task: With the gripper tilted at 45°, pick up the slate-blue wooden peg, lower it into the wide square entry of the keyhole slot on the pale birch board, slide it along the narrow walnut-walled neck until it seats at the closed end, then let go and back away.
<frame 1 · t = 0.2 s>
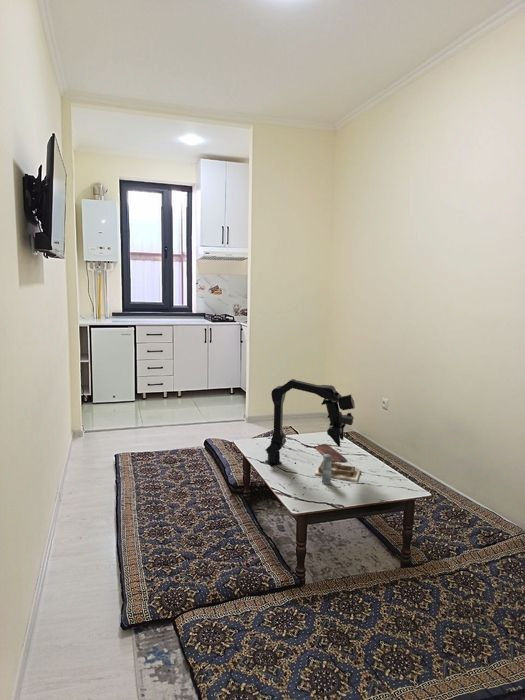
hand: (340, 442, 228), 15 cm above the table, tool tilted 15°, fingers open, 9 cm apart
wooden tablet: (329, 454, 256), on the table
keyhole board: (337, 472, 231), on the table
slate peg: (326, 482, 220), on the table
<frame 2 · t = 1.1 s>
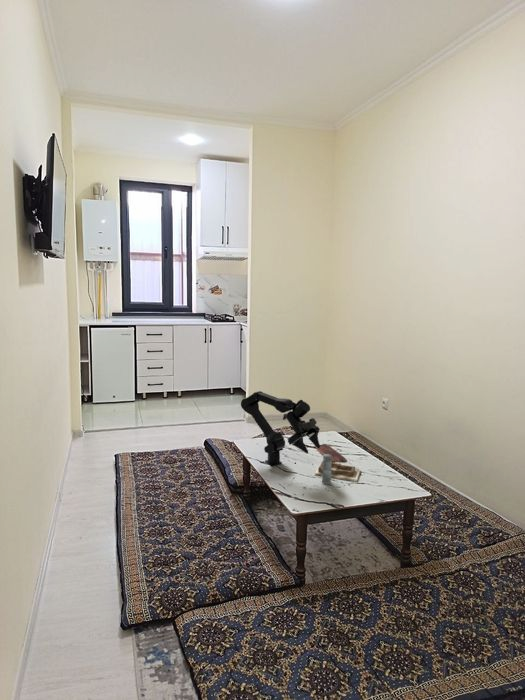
hand: (313, 450, 223), 13 cm above the table, tool tilted 45°, fingers open, 9 cm apart
nothing on the table moved.
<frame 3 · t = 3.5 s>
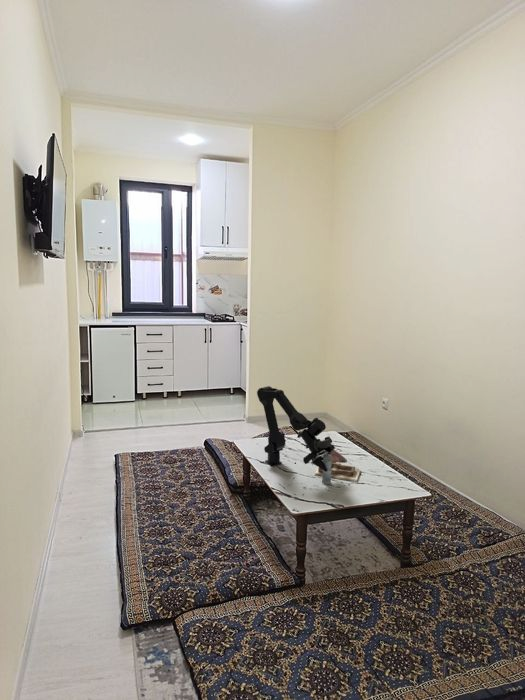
hand: (329, 469, 218), 7 cm above the table, tool tilted 45°, fingers closed on slate peg, 4 cm apart
slate peg: (326, 482, 220), on the table, touching gripper
everything else where it was.
when the fingers open (8 cm above the table, at t = 10.6 s): slate peg stays where it is, resting on keyhole board.
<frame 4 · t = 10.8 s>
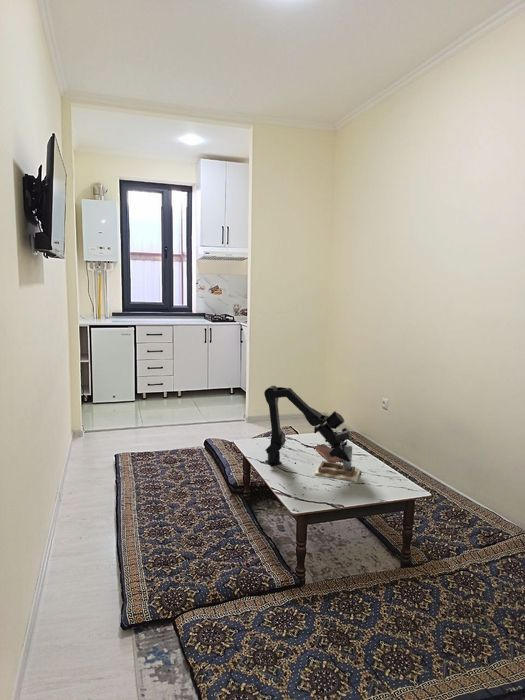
hand: (350, 459, 227), 8 cm above the table, tool tilted 45°, fingers open, 5 cm apart
slate peg: (346, 472, 229), point 1 cm above the table, touching keyhole board
everything else where it was.
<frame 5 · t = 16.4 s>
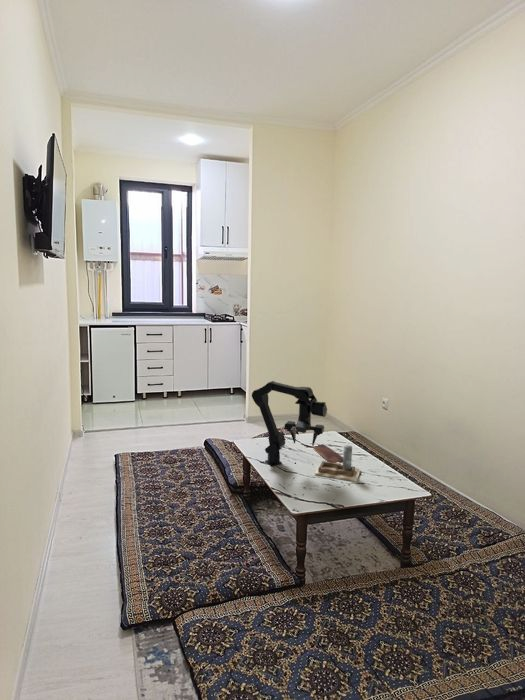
hand: (303, 444, 232), 13 cm above the table, tool pointing down, fingers open, 9 cm apart
at the end: slate peg 0.7 cm from the target spot on the keyhole board, point 1.0 cm above the keyhole board's base; slate peg tilted 0°; the gripper is holding nothing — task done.
